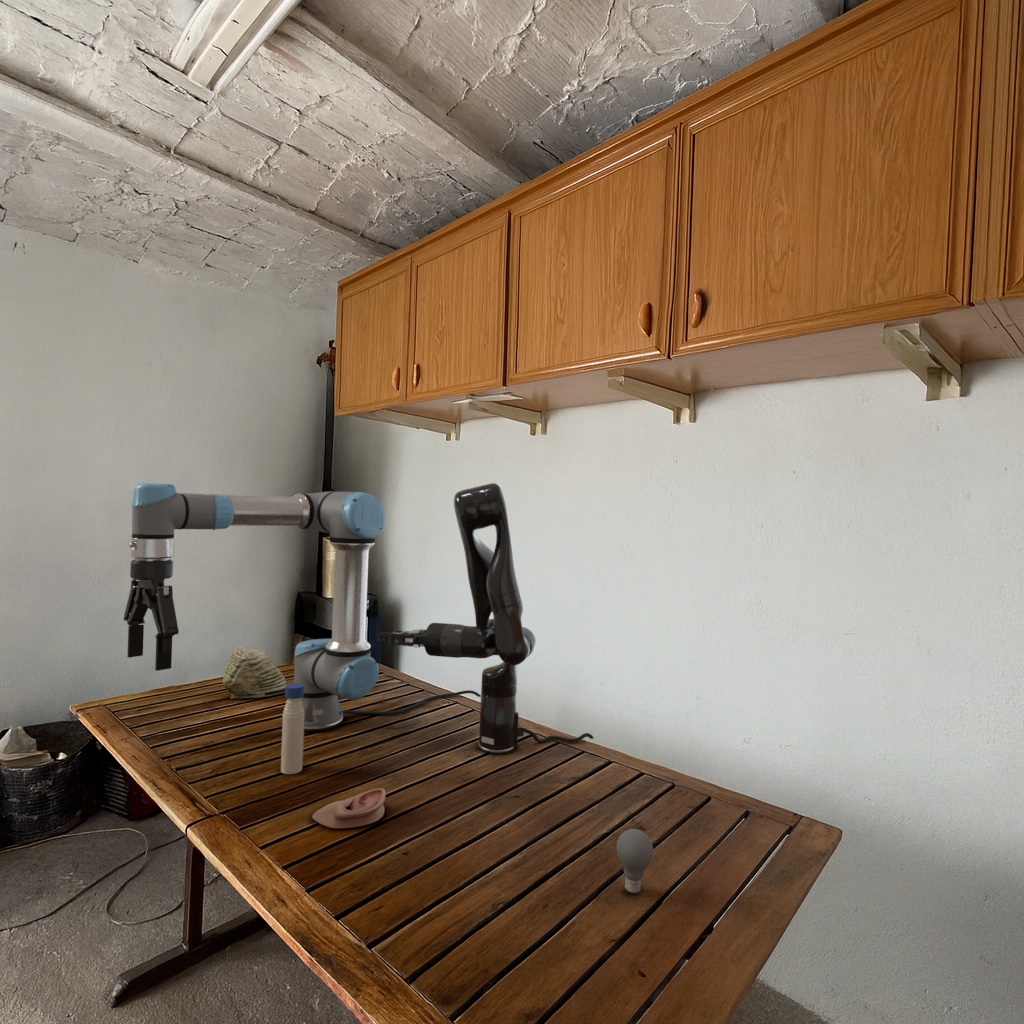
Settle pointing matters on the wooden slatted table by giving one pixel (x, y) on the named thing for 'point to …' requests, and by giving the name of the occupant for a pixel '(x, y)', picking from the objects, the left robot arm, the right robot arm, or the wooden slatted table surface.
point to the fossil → (252, 674)
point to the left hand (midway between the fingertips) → (148, 662)
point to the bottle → (292, 737)
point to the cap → (294, 691)
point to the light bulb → (634, 857)
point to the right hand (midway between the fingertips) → (387, 635)
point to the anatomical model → (353, 810)
